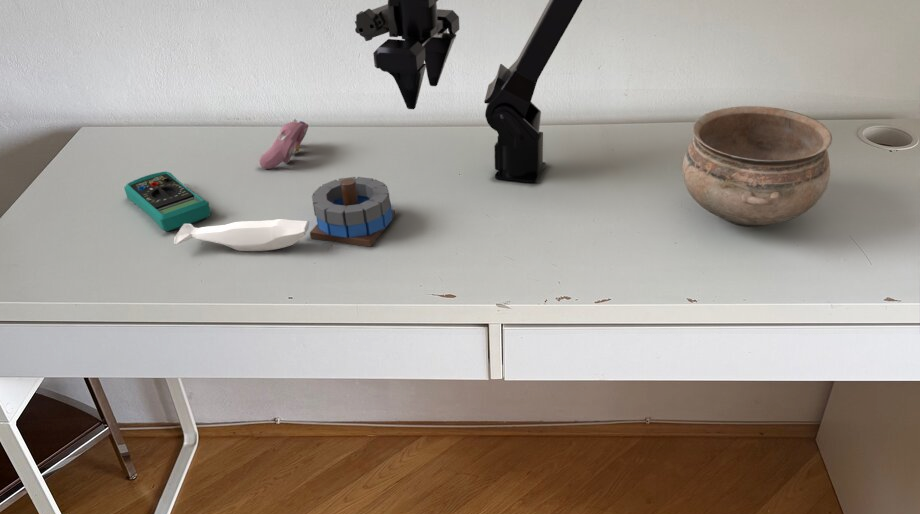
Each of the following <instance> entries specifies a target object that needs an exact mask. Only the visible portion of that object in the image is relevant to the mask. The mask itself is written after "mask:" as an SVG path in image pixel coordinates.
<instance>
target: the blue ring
mask: <svg viewBox="0 0 920 514" xmlns="http://www.w3.org/2000/svg"><path fill="white" fill-rule="evenodd" d="M357 198H358V204H360V203H363V202H365V201H368V200H370V198H368V197H363V196H357ZM332 203H333V204H336V205H344V203H343V198H341V199H338V200H336V201H333V202H332ZM392 207H393V206H392V203H391V201H390V208H389V209H388V210H387V212H386V213H385V214H384V215H381V217H380V218H377V219H375V220H373V221H370V222H368V223H367V222H365V221H364V222H365V223H364V224H357V225H350V226H347V224H345V225H344V226H342V225H334V224H328V222H327V223H325V222H323V221H322V220H320V219H318V218H317V217H316V216H315V218H316V223H317V224H318V227H319V229H320V230H322V231H323V232H325V233H327V234H328V235H330V234H331V236H338V237H345V238H347V237H348V236H349V237H350V238H352V237H359V236H367V233H368V234H369V235H370V234H373V233H375V232H377V231H379V230H382V229H384V227H386V226H387V225H388V226H389V225H390V224H391V222H392V221H393V220H392V218H393V216H392V209H393V208H392ZM393 219H394V218H393ZM391 220H392V221H391ZM390 221H391V222H390ZM317 224H316V225H317ZM388 226H387V227H388ZM387 227H386V228H387ZM384 230H385V229H384Z"/></svg>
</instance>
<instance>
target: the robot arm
mask: <svg viewBox="0 0 920 514" xmlns="http://www.w3.org/2000/svg"><path fill="white" fill-rule="evenodd" d="M438 1H439V0H387V3H386V4H384V5H381V6H379V7H375V8H373V9H371V8H367V9H365V10H361V11H359V12H358V13H356V15H355V21H354V24H355V26H356V27H355V28H354V29H355V30H354V31H355V33H356V34H358V35H359V36H360V37H362V38H364V41H365V42H369V41H372V40H373V38H376V37H380V36H381V35H385V34H388V37H389V38H388V39H386V40H385V41H384V42H383V43H382V44H381V45H379V46H378V47H377V48H376V49H375V50H374V51H373V53H372V54H373V63H374V67H375V68H376V69H379V70H381V72H384V73H385V72H386V73H388V74H389V75H391V76H392V77H393V79H394V80H395V83H396V85H397V88H398V89H399V93H400V95H401V96H402V99H403V101H404V104H405V106H406V108H407V109H408V110H415V109H416V107H417V104H418V100H419V96H420V91H421V87H422V83H423V79H424V76H425V72H426V75H427V80H428V84H429V87H437V86H438V85H439V81H440V80H441V79H440V78H441V76H442V73H443V71H444V68H445V65H446V63H447V60H448V57H449V55H450V52H451V49H452V47H453V45H454V41H455V40H456V38H457V32H458V31H460V16H459V15H458V14H457V13H456V12H455V11H454V10H453V9H441V8H438V4H437V2H438ZM582 2H583V0H548V2H547V3H546V6H545V7H544V10H543V11H542V13H541V15H540V17H539V18H538V21H537V22H536V24H535V26H534V28H533V29H532V31H531V33H530V35H529V37H528V39H527V41H526V43H525V44H524V46H523V48H522V50H521V52H520V53H519V56H518V58H517V59H516V60H515V61H514V62H513V63H512V64H511V65H510V67H506V66H505V65H503V64H502V63H500V64H499V66H498V69H497V72H496V75H495V78H494V79H493V80H492V81H491V82H490V83H489V84H488V86H487V89H486V93H485V98H484V104H486V107H485V114H484V117H485V120H486V122H487V124H488V125H489V127H490V128H492V130H494V131H495V132H497V141H496V143H494V146H493V147H494V149H493V151H494V169H495V171H496V173H495V174H494V179H496V180H504V181H510V182H511V181H512V182H519V183H529V184H536V183H537V182H538V180H539V178H540V176H541V175H542V174H543V172H544V170H545V169H546V167H547V166H546V165H547V163H546V162H544V132H543V131H540V128H541V127H540V126H541V125H540V124H541V118H542V117H541V116H542V111H541V110H540V109H539V108H538V106H536V105H535V104H534V103H533V102H532V99H533V96H534V93H535V90H536V87H537V83H538V80H539V79H540V76H541V74H542V73H543V71H544V70H545V68H546V65H547V64H548V62H549V60H550V58H551V57H552V55H553V53H554V51H555V49H557V46H558V44H559V42H560V41H561V39H562V37H563V36H564V34H565V32H566V30H567V29H568V27H569V25H570V23H571V21H572V19H573V18H574V16H575V15H576V13H577V11H578V9H579V7H580V6H581V4H582ZM398 37H401V39H395V38H398Z"/></svg>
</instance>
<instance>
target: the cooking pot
mask: <svg viewBox="0 0 920 514" xmlns="http://www.w3.org/2000/svg"><path fill="white" fill-rule="evenodd" d="M692 134H693V138H692V139H691V141H690V143H689V145H688V147H687V149H686V152H685V154H684V156H683V161H682V167H681V169H682V170H681V173H682V178H683V181H684V185H685V187H686V190H687V192H688V193H689V195H690V196H691V198H692V199H693V200H694V201H695V202H696V203H697V204H698V205H699V206H700V207H702V208H703V209H705V210H706V211H707V212H709V213H710V214H712V215H715V216H717V217H719V218H720V219H724V221H725V220H726V221H727V222H729V223H731V224H733V225H737V226H740V227H748V228H753V227H755V228H757V227H762V226H766V225H772V224H777V223H783V222H785V221H789V220H792V219H794V218H797V217H799V216H801V215H803V214H805V213H806V212H808V211H809V210H810V209H812V208H813V207H814V206H815V205H817V203H818V202H819V201H820V199H821V198H822V197H823V195H824V194H825V192H826V191H827V189H828V187H829V181H830V178H831V165H830V163H831V162H830V157H829V156H830V155H829V152H828V149H829V147H830V146H831V145H832V141H833V135H832V133H831V131H830V129H829V128H828V127H827V126H825V125H824V124H823V123H821V122H820V121H818V120H817V119H815V118H813V117H810V116H809V115H805V114H803V113H800V112H797V111H792V110H789V109H784V108H779V107H771V106H760V105H758V106H757V105H741V106H732V107H731V106H730V107H724V108H720V109H715V110H712V111H709V112H708V113H704V114H703V115H701V116H699V117H698V118H697V119H696V120H695V121H694V123H693V124H692Z"/></svg>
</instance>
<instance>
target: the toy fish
mask: <svg viewBox="0 0 920 514" xmlns="http://www.w3.org/2000/svg"><path fill="white" fill-rule="evenodd" d="M309 227H310V221H309V220H297V219H296V220H295V219H293V220H292V219H285V218H276V219H269V220H267V219H266V220H245V221H233V222H230V223H227V224H221V225H210V226H202V227H195V226H194V225H193V224H183V226H182V227H180V228H179V230H178V231H177V233H176V235H175V236H174V238H173V245H175V246H177V245H179V244H183V243H184V242H187V241H189V240H191V239H197V240H200V241H204V242H205V241H206V242H212V243H215V244H218V245H219V244H220V245H223V246H226V247H228V248H230V249H233V250H235V251H239V252H264V251H273V250H279V249H284V248H286V247H291V246H294V245H295V244H297V243H298V242H299V241H301V240H302V239H304V238H305V236H306V234H307V232H308V230H309Z"/></svg>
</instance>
